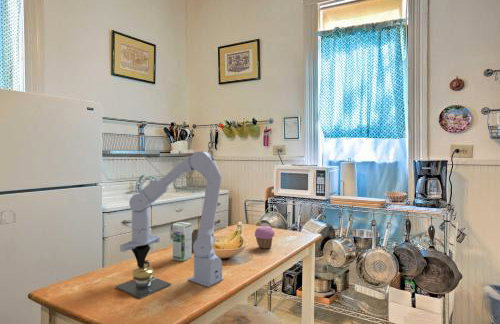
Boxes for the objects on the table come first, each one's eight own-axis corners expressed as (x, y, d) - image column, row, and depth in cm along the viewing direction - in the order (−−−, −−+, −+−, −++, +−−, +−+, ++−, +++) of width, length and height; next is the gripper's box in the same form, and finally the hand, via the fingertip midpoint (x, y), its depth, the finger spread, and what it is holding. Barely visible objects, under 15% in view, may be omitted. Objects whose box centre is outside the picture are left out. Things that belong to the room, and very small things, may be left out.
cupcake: (278, 247, 149) (278, 226, 149) (264, 252, 143) (264, 229, 143) (264, 243, 156) (264, 222, 155) (250, 247, 150) (250, 225, 149)
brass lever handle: (152, 279, 105) (152, 271, 105) (131, 281, 104) (131, 273, 104) (156, 265, 117) (156, 258, 117) (137, 266, 116) (137, 259, 116)
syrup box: (171, 259, 133) (171, 224, 133) (181, 255, 139) (181, 221, 138) (183, 261, 131) (182, 225, 130) (192, 257, 136) (192, 222, 135)
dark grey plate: (172, 284, 109) (171, 275, 109) (140, 298, 99) (139, 288, 99) (147, 275, 117) (147, 266, 117) (115, 287, 107) (115, 278, 107)
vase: (197, 246, 152) (196, 227, 151) (207, 249, 147) (207, 229, 147) (185, 249, 146) (185, 230, 146) (195, 252, 142) (195, 232, 142)
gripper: (150, 222, 121) (150, 259, 122) (114, 230, 109) (114, 270, 110) (163, 225, 117) (163, 263, 118) (127, 233, 105) (127, 275, 106)
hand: (140, 267), depth 114 cm, fingers closed, pressing on brass lever handle
